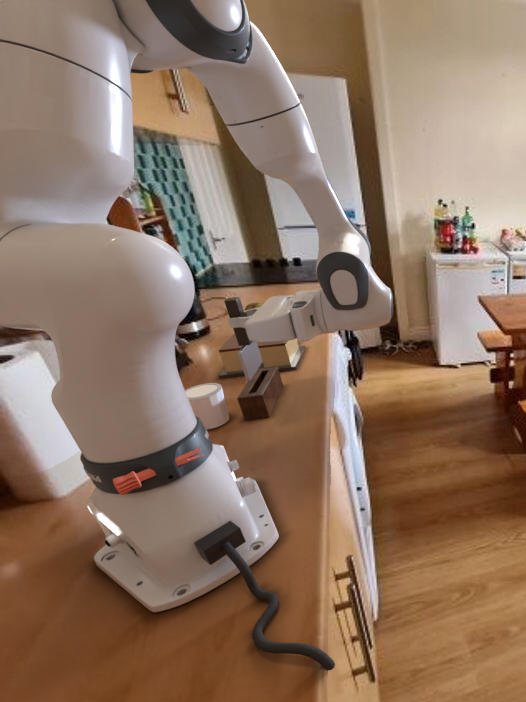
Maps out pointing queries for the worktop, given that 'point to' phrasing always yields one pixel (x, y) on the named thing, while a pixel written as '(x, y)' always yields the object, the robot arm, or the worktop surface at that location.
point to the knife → (244, 340)
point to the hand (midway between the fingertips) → (233, 319)
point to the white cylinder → (208, 404)
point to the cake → (272, 355)
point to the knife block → (260, 393)
